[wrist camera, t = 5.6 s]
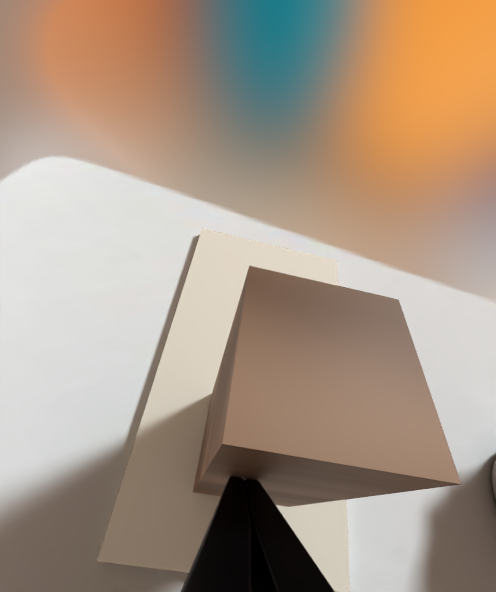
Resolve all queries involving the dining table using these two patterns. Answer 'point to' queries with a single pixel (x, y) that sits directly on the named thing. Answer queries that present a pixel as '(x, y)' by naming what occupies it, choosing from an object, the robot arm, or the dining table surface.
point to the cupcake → (494, 478)
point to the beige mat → (192, 420)
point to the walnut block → (321, 398)
